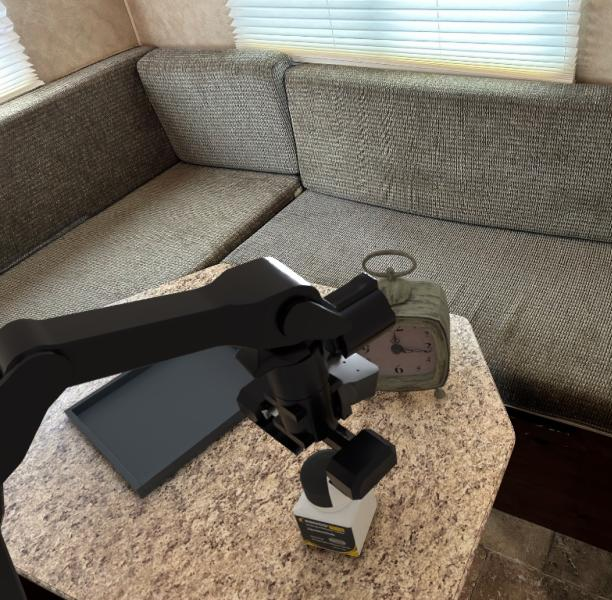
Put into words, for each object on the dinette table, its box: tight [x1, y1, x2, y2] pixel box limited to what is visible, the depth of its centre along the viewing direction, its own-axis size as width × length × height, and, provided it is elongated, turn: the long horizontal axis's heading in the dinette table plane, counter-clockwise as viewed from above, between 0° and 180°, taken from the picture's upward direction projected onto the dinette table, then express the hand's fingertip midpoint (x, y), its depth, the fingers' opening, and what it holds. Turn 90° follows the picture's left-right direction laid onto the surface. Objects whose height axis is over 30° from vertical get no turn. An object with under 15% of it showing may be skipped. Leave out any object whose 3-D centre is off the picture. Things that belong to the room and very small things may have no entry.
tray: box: [63, 346, 254, 499], centre depth 92 cm, size 26×22×2 cm
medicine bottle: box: [293, 448, 378, 558], centre depth 71 cm, size 7×7×12 cm
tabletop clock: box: [356, 249, 451, 401], centre depth 83 cm, size 14×9×25 cm, turn 86°
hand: (326, 473), depth 68 cm, fingers open, 9 cm apart
